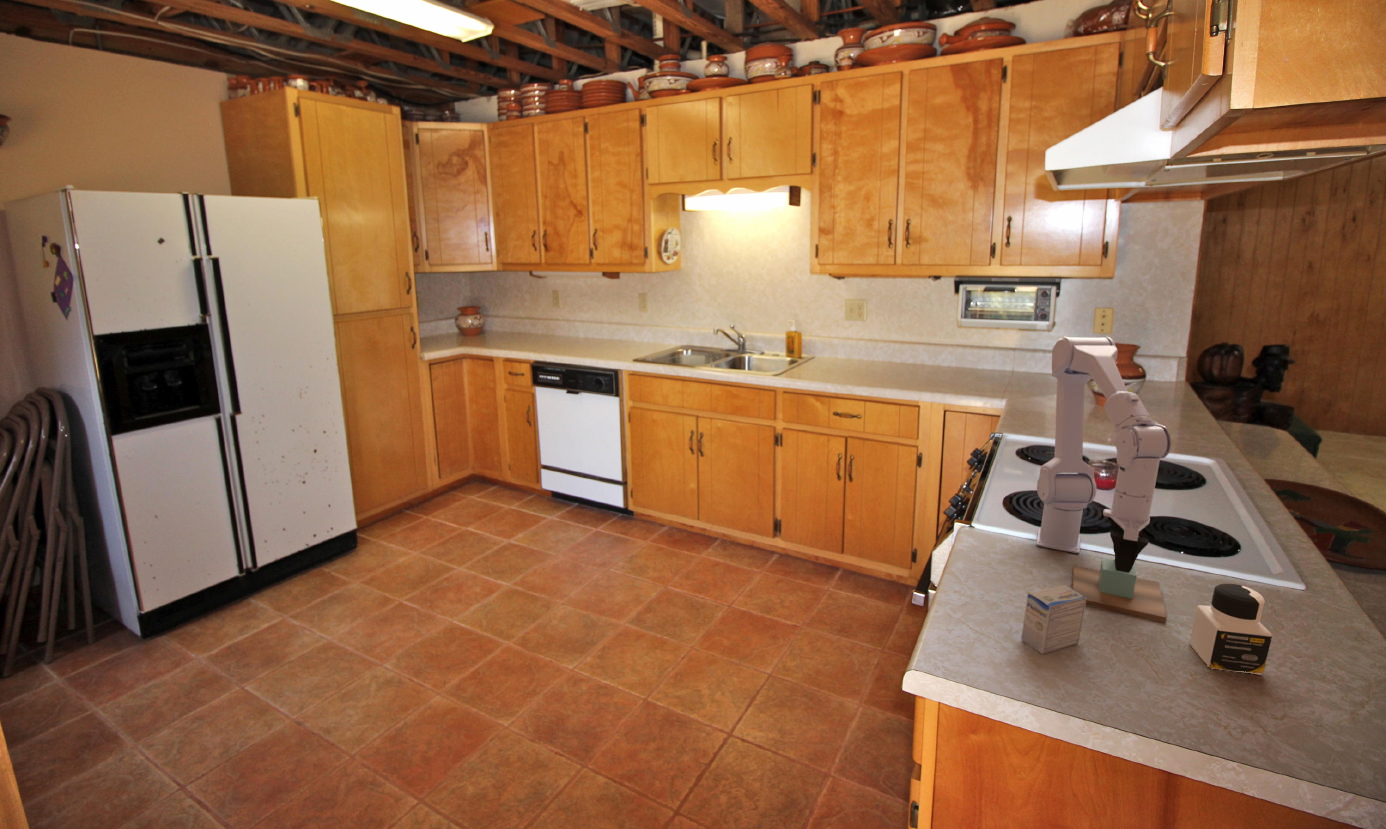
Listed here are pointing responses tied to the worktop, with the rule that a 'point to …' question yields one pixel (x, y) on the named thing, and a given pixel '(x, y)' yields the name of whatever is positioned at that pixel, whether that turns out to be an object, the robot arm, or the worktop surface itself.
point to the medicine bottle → (1232, 630)
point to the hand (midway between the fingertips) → (1121, 561)
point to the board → (1142, 604)
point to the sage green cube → (1116, 580)
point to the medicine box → (1053, 618)
